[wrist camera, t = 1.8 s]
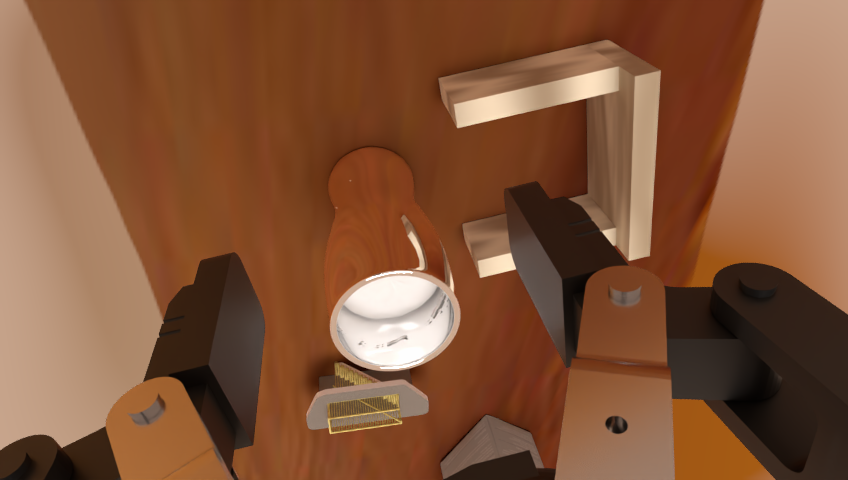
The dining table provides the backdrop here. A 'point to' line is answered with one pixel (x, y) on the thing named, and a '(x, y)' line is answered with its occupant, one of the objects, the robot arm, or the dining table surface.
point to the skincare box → (489, 445)
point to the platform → (364, 399)
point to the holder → (606, 136)
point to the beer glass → (385, 267)
